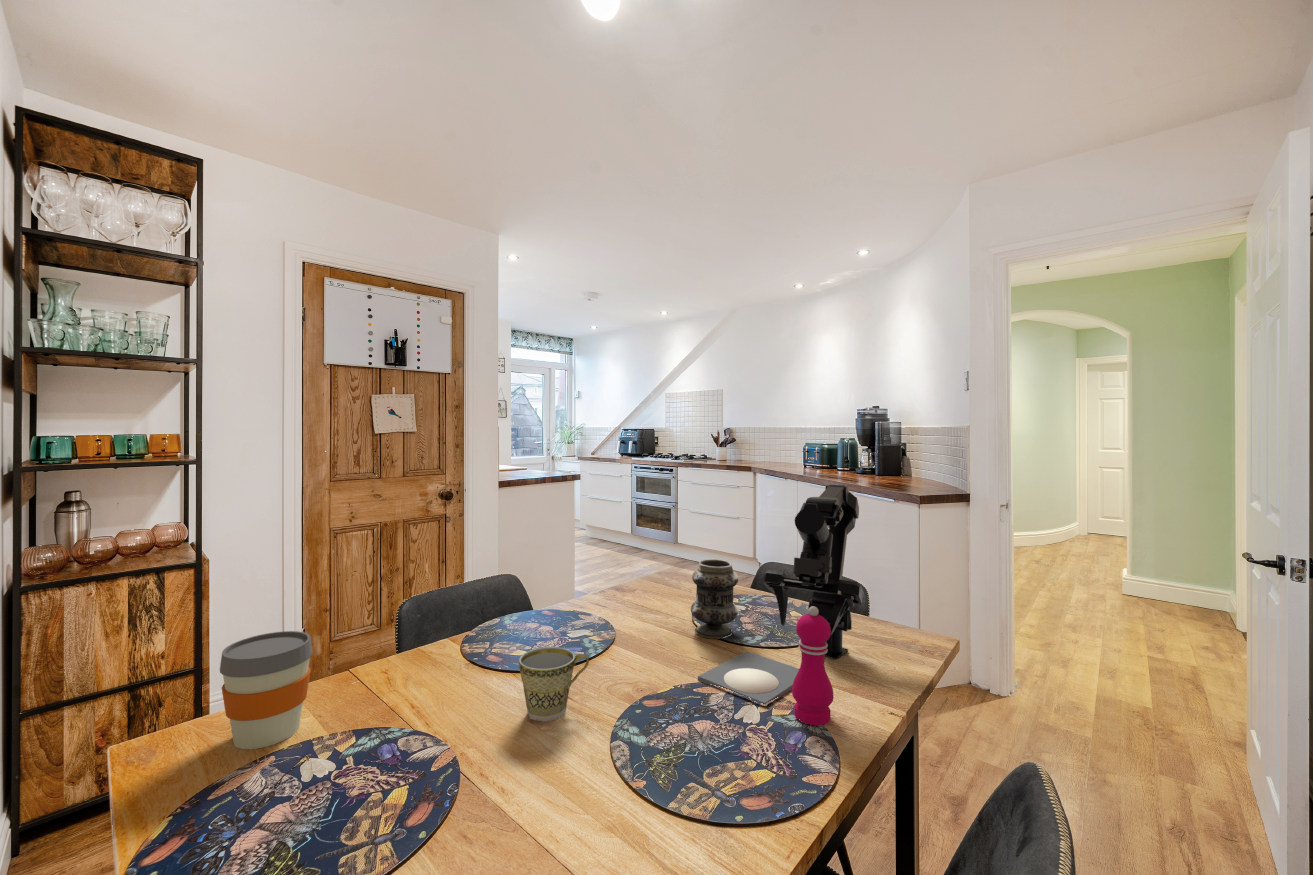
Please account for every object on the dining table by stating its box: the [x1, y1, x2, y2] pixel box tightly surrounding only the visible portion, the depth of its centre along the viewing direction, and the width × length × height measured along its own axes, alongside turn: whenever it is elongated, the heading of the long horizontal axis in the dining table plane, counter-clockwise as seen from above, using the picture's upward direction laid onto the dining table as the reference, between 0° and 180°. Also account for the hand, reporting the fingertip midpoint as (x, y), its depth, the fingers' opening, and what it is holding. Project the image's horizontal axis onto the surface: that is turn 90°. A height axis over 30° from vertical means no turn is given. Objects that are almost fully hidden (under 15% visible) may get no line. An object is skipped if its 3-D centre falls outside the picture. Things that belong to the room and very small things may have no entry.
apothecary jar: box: [690, 558, 739, 640], centre depth 138 cm, size 12×12×18 cm
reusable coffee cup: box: [219, 630, 313, 750], centre depth 90 cm, size 13×13×15 cm
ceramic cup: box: [518, 646, 590, 723], centre depth 99 cm, size 13×10×10 cm
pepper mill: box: [791, 606, 835, 727], centre depth 97 cm, size 7×7×20 cm
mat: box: [697, 650, 800, 704], centre depth 113 cm, size 18×16×1 cm
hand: (806, 629), depth 105 cm, fingers open, 9 cm apart
